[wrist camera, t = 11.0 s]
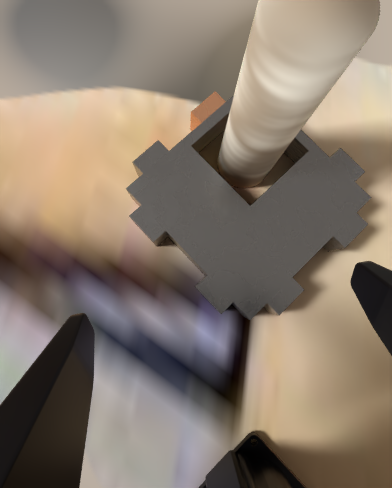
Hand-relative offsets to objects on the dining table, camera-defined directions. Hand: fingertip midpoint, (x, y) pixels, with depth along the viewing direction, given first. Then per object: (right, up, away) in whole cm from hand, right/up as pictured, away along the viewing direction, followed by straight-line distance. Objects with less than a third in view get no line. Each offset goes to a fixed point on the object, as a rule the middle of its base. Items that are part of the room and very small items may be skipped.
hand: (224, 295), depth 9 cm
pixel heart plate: (+3, +5, +14) cm, 16 cm away
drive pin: (+3, +9, +15) cm, 17 cm away
